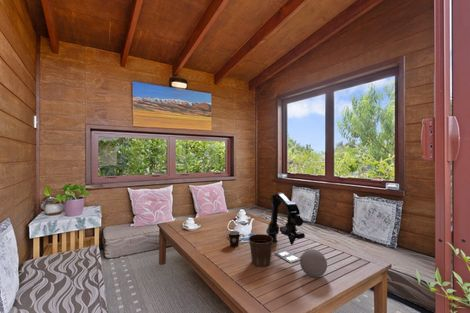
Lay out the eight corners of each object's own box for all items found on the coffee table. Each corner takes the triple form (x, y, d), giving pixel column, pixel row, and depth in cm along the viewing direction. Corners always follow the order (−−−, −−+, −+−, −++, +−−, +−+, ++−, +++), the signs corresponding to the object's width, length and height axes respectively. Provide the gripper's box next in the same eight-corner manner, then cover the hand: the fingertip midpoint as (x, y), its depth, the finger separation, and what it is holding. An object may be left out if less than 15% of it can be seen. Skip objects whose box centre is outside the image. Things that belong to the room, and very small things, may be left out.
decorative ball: (295, 275, 135) (295, 250, 135) (307, 266, 145) (307, 243, 145) (320, 286, 124) (319, 258, 124) (331, 275, 135) (331, 250, 135)
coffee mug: (226, 246, 179) (226, 233, 179) (232, 242, 187) (231, 230, 187) (240, 249, 174) (239, 235, 174) (245, 244, 181) (244, 232, 181)
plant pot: (272, 270, 142) (271, 244, 142) (246, 267, 146) (246, 242, 146) (274, 258, 158) (274, 235, 157) (251, 256, 162) (251, 233, 161)
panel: (285, 251, 169) (285, 250, 169) (301, 259, 155) (301, 258, 155) (274, 254, 164) (274, 253, 164) (290, 263, 150) (290, 262, 150)
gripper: (273, 220, 160) (273, 242, 160) (292, 227, 143) (292, 252, 144) (285, 217, 165) (285, 239, 165) (305, 224, 149) (305, 248, 149)
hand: (291, 244), depth 156 cm, fingers closed
